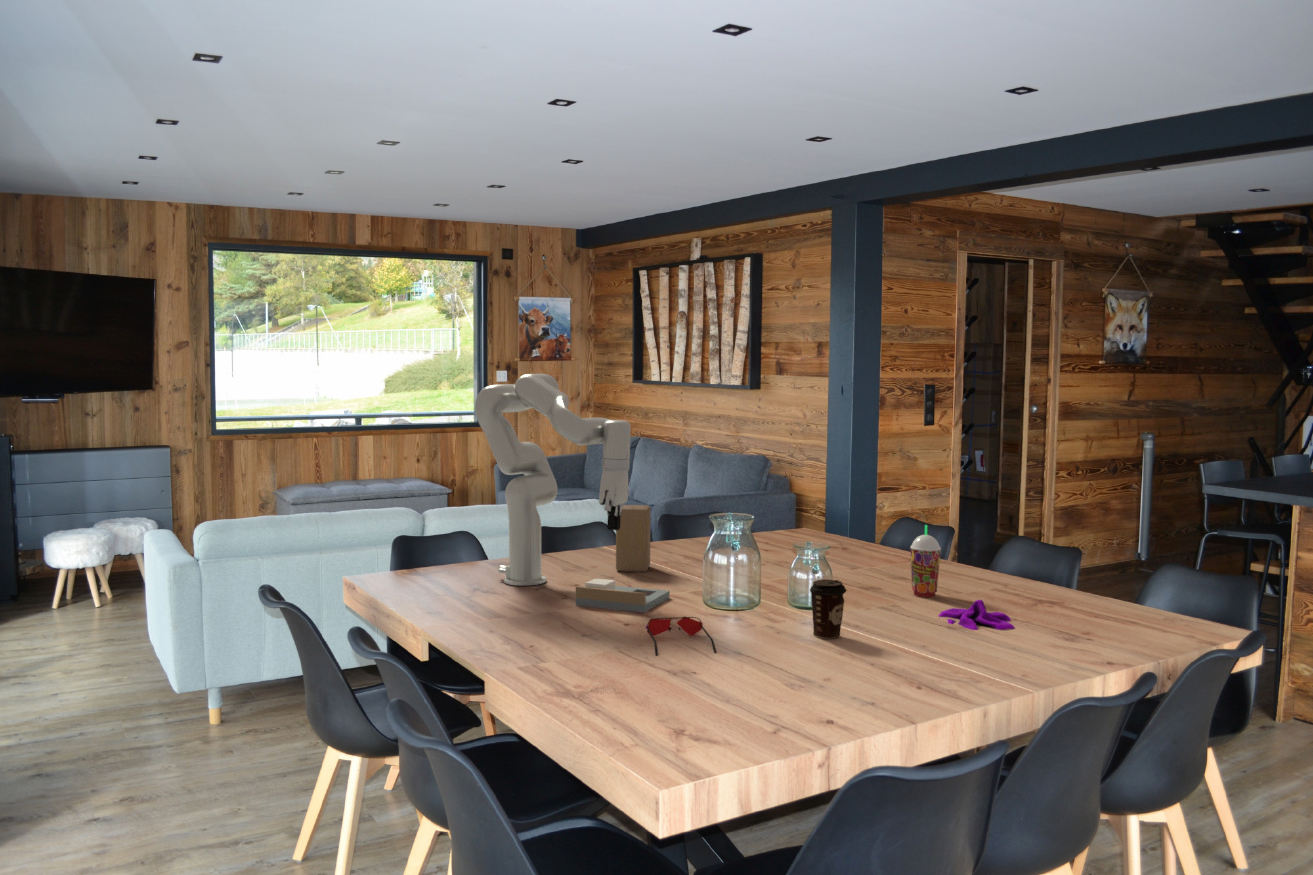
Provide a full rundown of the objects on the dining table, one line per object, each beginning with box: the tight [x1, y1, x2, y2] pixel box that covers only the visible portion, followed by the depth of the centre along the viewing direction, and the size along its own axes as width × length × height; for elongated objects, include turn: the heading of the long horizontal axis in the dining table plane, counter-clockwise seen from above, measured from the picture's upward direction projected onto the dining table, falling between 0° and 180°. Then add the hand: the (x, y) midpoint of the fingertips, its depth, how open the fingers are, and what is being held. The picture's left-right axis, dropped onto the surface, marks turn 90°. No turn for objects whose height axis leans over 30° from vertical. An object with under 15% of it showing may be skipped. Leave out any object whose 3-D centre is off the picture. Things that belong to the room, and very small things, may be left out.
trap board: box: [575, 585, 670, 613], centre depth 269 cm, size 20×18×5 cm
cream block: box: [584, 578, 616, 590], centre depth 266 cm, size 6×6×4 cm
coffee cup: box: [809, 578, 847, 640], centre depth 235 cm, size 9×8×13 cm
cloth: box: [938, 599, 1016, 631], centre depth 249 cm, size 22×19×6 cm
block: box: [615, 504, 651, 573], centre depth 312 cm, size 10×10×20 cm
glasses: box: [645, 616, 718, 657], centre depth 227 cm, size 14×16×5 cm
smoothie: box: [909, 524, 942, 598], centre depth 278 cm, size 8×8×20 cm
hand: (613, 529), depth 275 cm, fingers closed
